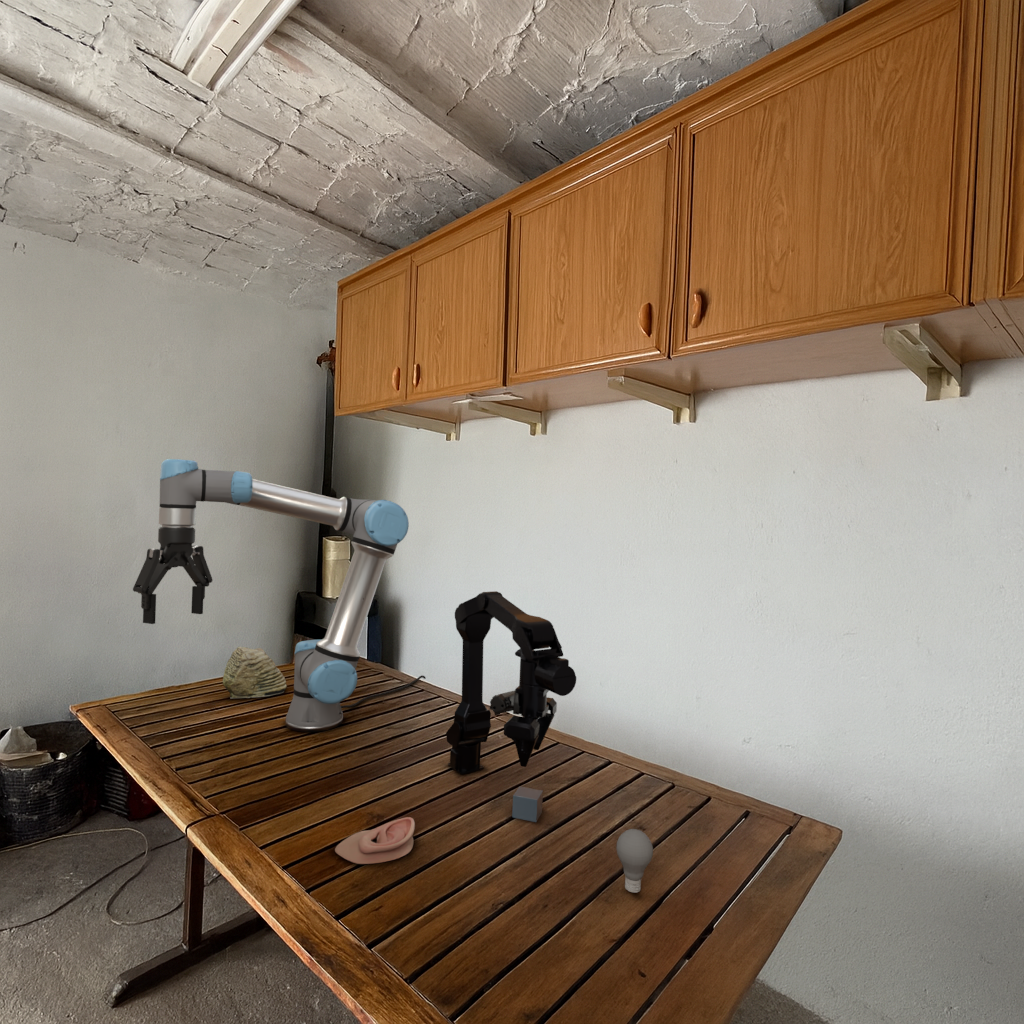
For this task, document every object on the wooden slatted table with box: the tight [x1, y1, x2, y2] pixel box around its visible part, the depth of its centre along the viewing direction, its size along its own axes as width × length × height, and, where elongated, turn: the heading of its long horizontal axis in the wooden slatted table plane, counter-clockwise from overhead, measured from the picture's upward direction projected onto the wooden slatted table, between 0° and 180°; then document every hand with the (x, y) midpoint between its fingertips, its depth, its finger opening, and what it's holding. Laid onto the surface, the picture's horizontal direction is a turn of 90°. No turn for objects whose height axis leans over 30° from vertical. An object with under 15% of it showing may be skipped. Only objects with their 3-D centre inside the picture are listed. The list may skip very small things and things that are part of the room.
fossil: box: [222, 646, 288, 699], centre depth 198 cm, size 9×18×15 cm, turn 132°
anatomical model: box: [334, 816, 416, 865], centre depth 115 cm, size 13×4×12 cm
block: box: [511, 786, 544, 823], centre depth 130 cm, size 4×5×5 cm
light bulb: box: [615, 828, 654, 894], centre depth 106 cm, size 6×6×10 cm
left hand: (174, 618), depth 146 cm, fingers open, 13 cm apart
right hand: (529, 757), depth 130 cm, fingers open, 9 cm apart
